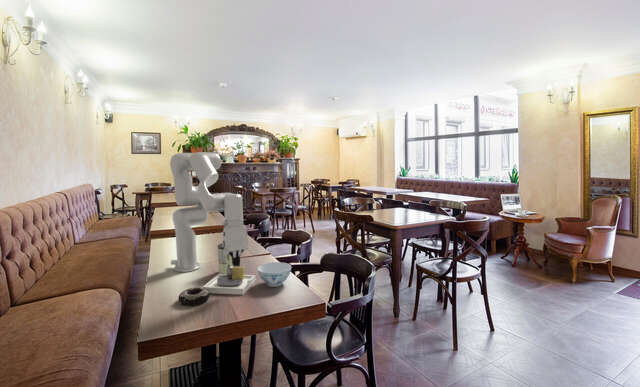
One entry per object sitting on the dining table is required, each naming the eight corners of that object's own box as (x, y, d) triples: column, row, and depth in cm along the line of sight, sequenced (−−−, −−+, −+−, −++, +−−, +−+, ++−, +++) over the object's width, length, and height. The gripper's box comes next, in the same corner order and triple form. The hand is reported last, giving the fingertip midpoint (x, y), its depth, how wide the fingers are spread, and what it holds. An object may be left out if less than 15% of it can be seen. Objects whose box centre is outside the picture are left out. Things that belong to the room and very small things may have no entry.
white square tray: (202, 292, 138) (202, 286, 138) (218, 279, 154) (218, 273, 154) (243, 294, 136) (243, 287, 136) (255, 280, 152) (255, 274, 151)
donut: (187, 294, 137) (187, 285, 137) (214, 295, 136) (214, 286, 136) (172, 306, 126) (172, 296, 125) (201, 307, 124) (201, 297, 124)
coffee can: (226, 267, 170) (225, 241, 169) (243, 269, 167) (242, 242, 165) (214, 274, 161) (213, 246, 159) (232, 276, 157) (231, 248, 156)
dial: (212, 286, 140) (212, 270, 139) (223, 277, 151) (222, 262, 150) (239, 287, 139) (239, 271, 138) (248, 278, 149) (248, 263, 149)
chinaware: (254, 280, 151) (254, 264, 151) (285, 276, 157) (285, 260, 157) (262, 292, 138) (261, 275, 137) (296, 287, 144) (295, 270, 143)
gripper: (221, 227, 130) (224, 271, 132) (254, 221, 140) (256, 263, 142) (213, 224, 136) (215, 267, 137) (245, 220, 146) (247, 260, 147)
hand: (236, 265), depth 140 cm, fingers closed
